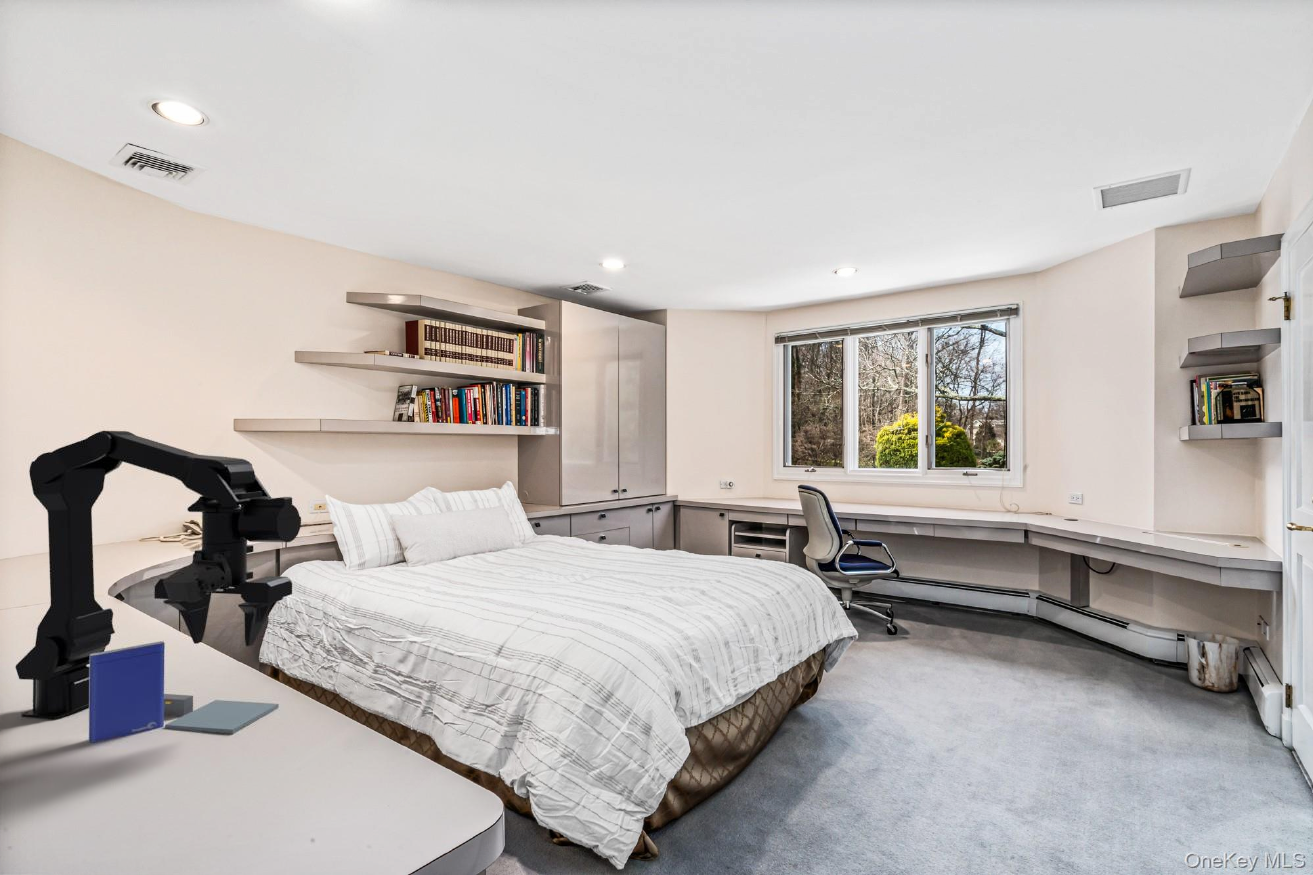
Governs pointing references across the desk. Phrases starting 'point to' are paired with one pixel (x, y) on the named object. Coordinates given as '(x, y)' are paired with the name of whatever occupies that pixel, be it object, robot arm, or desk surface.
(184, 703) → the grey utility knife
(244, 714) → the mat
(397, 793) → the desk surface
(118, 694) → the hard drive
